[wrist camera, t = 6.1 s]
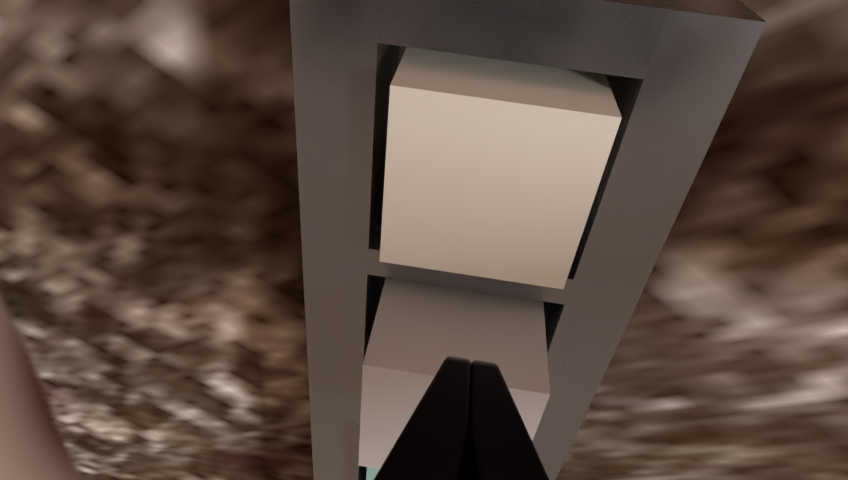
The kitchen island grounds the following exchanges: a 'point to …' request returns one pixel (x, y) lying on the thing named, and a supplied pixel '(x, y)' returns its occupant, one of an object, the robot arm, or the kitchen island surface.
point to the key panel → (611, 210)
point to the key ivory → (492, 165)
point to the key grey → (446, 354)
